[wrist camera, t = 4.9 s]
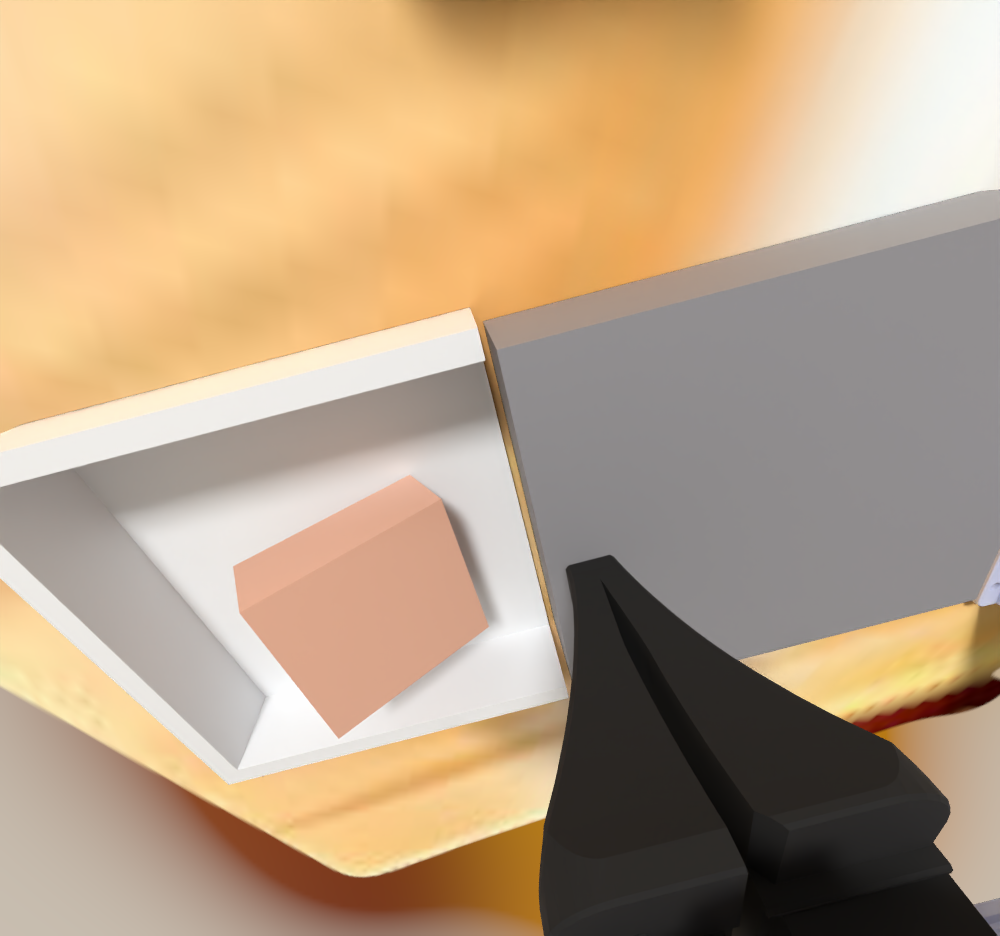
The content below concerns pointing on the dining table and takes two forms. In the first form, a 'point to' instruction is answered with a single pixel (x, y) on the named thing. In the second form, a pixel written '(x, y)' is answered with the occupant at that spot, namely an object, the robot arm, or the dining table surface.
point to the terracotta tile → (363, 601)
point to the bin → (271, 535)
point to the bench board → (773, 429)
